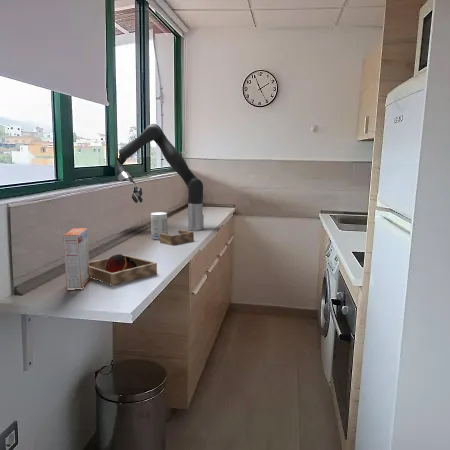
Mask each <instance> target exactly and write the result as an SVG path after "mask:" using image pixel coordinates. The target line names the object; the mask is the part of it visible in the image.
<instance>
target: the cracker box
mask: <svg viewBox="0 0 450 450" xmlns="http://www.w3.org/2000/svg"><path fill="white" fill-rule="evenodd" d="M88 236H89V235H88V228H86V227H73V228H71V229H70V230H69V231H68V232H66V233H65V234H63V235H62V240H63V241H62V242H63V243H62V244H63V255H64V268H65V281H66V282H65V284H66V289H67V288H83V287H84V286H85V287H86V285H87V284H88V282H89V281H90V280H89V279H91V278H90V268H89V262H90V257H89V255H90V254H89V239H88ZM88 280H89V281H88ZM86 283H87V284H86ZM85 284H86V285H85ZM85 287H84V288H85ZM84 288H83V289H84Z"/></svg>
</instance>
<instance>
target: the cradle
mask: <svg viewBox="0 0 450 450" xmlns="http://www.w3.org/2000/svg"><path fill="white" fill-rule="evenodd" d="M194 239H195V238H194V231H191V230H189V231H188V230H185V229H184V230H183V229H178V234H174V235H173V234H169V233H168V234H163V233H161V234H160V239H159V243H160V244H165V245H169V246H176V245H179V244H184V243H188V242H189V243H190V242H194Z"/></svg>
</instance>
